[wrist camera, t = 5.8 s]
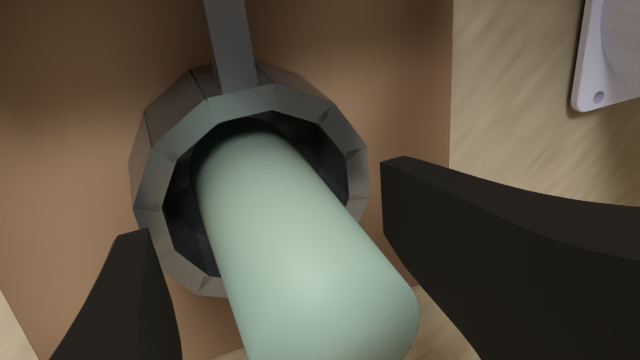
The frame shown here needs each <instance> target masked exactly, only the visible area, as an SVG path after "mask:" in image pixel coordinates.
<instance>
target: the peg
mask: <svg viewBox="0 0 640 360" xmlns="http://www.w3.org/2000/svg"><path fill="white" fill-rule="evenodd" d="M188 174H189V181H190V184H191V187H192V190H193V193H194V196H195V199H196V202H197V205H198V209H199V212H200V215H201V218H202V221H203V224H204V227H205V230H206V233H207V236H208V239H209V242H210V245H211V248H212V251H213V254H214V257H215V260H216V263H217V266H218V269H219V272H220V275H221V278H222V281H223V284H224V287H225V290H226V293H227V296H228V299H229V302H230V305H231V308H232V311H233V314H234V317H235V320H236V323H237V326H238V329H239V332H240V335H241V338H242V341H243V344H244V347H245V350H246V353H247V356H248V359H249V360H402V359H403V358H404V356H405V355H406V353H407V352H408V350H409V348H410V346H411V344H412V342H413V340H414V338H415V335H416V332H417V329H418V324H419V305H418V301H417V298H416V296H415V294H414V292H413V290H412V289H411V287H410V286H409V285H408V284H407V282H406V281H405V280H404V279H403V277H402V276H401V275H400V274H399V273H398V271H397V270H396V269H395V268H394V267H393V265H392V264H391V263H390V262H389V260H388V259H387V258H386V257H385V256H384V254H383V253H382V252H381V251H380V250H379V248H378V247H377V246H376V245H375V243H374V242H373V241H372V240H371V239H370V237H369V236H368V235H367V234H366V233H365V231H364V230H363V229H362V228H361V226H360V225H359V224H358V223H357V222H356V220H355V219H354V218H353V217H352V215H351V214H350V213H349V212H348V211H347V209H346V208H345V207H344V206H343V205H342V203H341V202H340V201H339V200H338V198H337V197H336V196H335V195H334V194H333V192H332V191H331V190H330V189H329V188H328V186H327V185H326V184H325V183H324V181H323V180H322V179H321V178H320V177H319V175H318V174H317V173H316V172H315V171H314V169H313V168H312V167H311V166H310V164H309V163H308V162H307V161H306V160H305V158H304V157H303V156H302V155H301V153H300V152H299V151H298V150H297V149H296V147H295V146H294V145H293V144H292V143H291V141H290V140H289V139H288V138H287V136H286V135H285V134H284V133H283V132H282V131H281V130H280V129H279V128H278V127H276V126H275V125H274V124H272V123H270V122H268V121H265V120H263V119H259V118H254V117H240V118H236V119H231V120H227V121H224V122H222V123H220V124H218V125H216V126H215V127H213V128H212V129H211V130H210V131H208V132H207V133H206V134H205V135H204V136H203V137H202V138H201V139H200V140H199V141H198V143H197V144H196V146H195V148H194V149H193V152H192V154H191V157H190V161H189V168H188Z"/></svg>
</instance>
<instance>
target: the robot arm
mask: <svg viewBox="0 0 640 360" xmlns="http://www.w3.org/2000/svg"><path fill="white" fill-rule="evenodd" d="M594 96H595V97H594ZM637 97H640V0H586V2H585V8H584V15H583V22H582V28H581V35H580V42H579V48H578V55H577V62H576V69H575V75H574V82H573V89H572V95H571V106H572V108H573V109H575V110H577V111H579V112H588V111H591V110H595V109H598V108H602V107H605V106H609V105H612V104H616V103H620V102H623V101H627V100H630V99H634V98H637ZM380 180H381V200H382V219H383V234H384V235H385V237H386V239H387V240H388V242H389V244H390V245H391V247H392V248H393V250H394V252H395V253H396V255H397V256H398V258H399V259H400V261H401V262H402V264H403V265H404V266H405V268H406V269H407V270H408V271H409V273H410V274H411V275H412V276H413V277H414V278H415V280H416V281H417V282H418V283H419V284H420V285H421V287H422V288H423V289H424V290H425V291H426V292H427V294H428V295H429V296H430V297H431V298H432V299H433V301H434V302H435V303H436V304H437V305H438V306H439V307H440V309H441V310H442V311H443V312H444V313H445V314H446V316H447V317H448V318H449V319H450V320H451V321H452V322H453V324H454V325H455V326H456V327H457V328H458V329H459V331H460V332H461V333H462V334H463V336H464V337H465V338H466V339H467V341H468V342H469V343H470V344H471V346H472V347H473V348H474V350H475V351H476V353H477V354H478V356H479V357H480V358H481V360H640V207H633V206H623V205H613V204H604V203H595V202H588V201H581V200H574V199H569V198H563V197H557V196H552V195H546V194H541V193H537V192H532V191H527V190H523V189H519V188H515V187H512V186H508V185H504V184H500V183H496V182H493V181H489V180H485V179H482V178H479V177H475V176H472V175H469V174H465V173H462V172H459V171H456V170H453V169H449V168H446V167H443V166H440V165H437V164H433V163H430V162H427V161H423V160H420V159H416V158H412V157H407V156H400V157H396V158H392V159H389V160H385V161H382V162H380ZM49 360H183V357H182V347H181V339H180V334H179V330H178V325H177V320H176V316H175V311H174V307H173V302H172V299H171V296H170V293H169V290H168V287H167V284H166V281H165V278H164V275H163V271H162V268H161V265H160V262H159V259H158V256H157V253H156V250H155V247H154V244H153V241H152V238H151V235H150V232H149V229H148V227H146V228H142V229H139V230H135V231H132V232H128V233H124V234H121V235H118V236H117V237H116V239H115V240H114V242H113V244H112V246H111V249H110V251H109V253H108V256H107V258H106V260H105V262H104V265H103V267H102V269H101V271H100V273H99V275H98V277H97V279H96V281H95V283H94V285H93V287H92V289H91V291H90V293H89V295H88V296H87V298H86V300H85V302H84V304H83V306H82V308H81V309H80V311H79V313H78V314H77V316H76V318H75V319H74V321H73V323H72V324H71V326H70V328H69V329H68V331H67V333H66V334H65V336H64V338H63V339H62V341H61V342H60V344H59V345H58V347H57V348H56V350H55V351H54V353H53V354H52V355H51V357H50V358H49Z"/></svg>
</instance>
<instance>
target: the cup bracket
mask: <svg viewBox="0 0 640 360" xmlns="http://www.w3.org/2000/svg"><path fill="white" fill-rule="evenodd" d="M452 25H453V0H0V290H1V291H2V293H3V295H4V297H5V299H6V300H7V302H8V304H9V306H10V308H11V310H12V311H13V313H14V315H15V317H16V319H17V321H18V322H19V324H20V326H21V328H22V330H23V332H24V333H25V335H26V337H27V339H28V341H29V342H30V344H31V346H32V348H33V350H34V352H35V353H36V355H37V357H38V359H39V360H49V358H50V357H51V355H52V354H53V353H54V351H55V350H56V348H57V347H58V345H59V344H60V342H61V341H62V339H63V338H64V336H65V334H66V333H67V331H68V329H69V328H70V326H71V324H72V323H73V321H74V319H75V318H76V316H77V314H78V313H79V311H80V309H81V308H82V306H83V304H84V302H85V300H86V298H87V296H88V295H89V293H90V291H91V289H92V287H93V285H94V283H95V281H96V279H97V277H98V275H99V273H100V271H101V269H102V267H103V265H104V262H105V260H106V258H107V256H108V253H109V251H110V249H111V246H112V244H113V242H114V240H115V239H116V237H117V236H118V235H121V234H124V233H128V232H132V231H135V230H139V229H142V228H146V227H148V229H149V232H150V235H151V238H152V241H153V244H154V247H155V250H156V253H157V256H158V259H159V262H160V265H161V268H162V271H163V275H164V278H165V281H166V284H167V287H168V290H169V293H170V296H171V299H172V302H173V307H174V311H175V316H176V320H177V325H178V330H179V334H180V339H181V347H182V357H183V360H207V359H210V358H213V357H216V356H218V355H221V354H224V353H227V352H230V351H232V350H235V349H238V348H241V347H244V344H243V341H242V338H241V335H240V332H239V329H238V326H237V323H236V320H235V317H234V314H233V311H232V308H231V305H230V302H229V299H228V296H227V293H226V290H225V287H224V284H223V281H222V278H221V275H220V272H219V269H218V266H217V263H216V260H215V257H214V254H213V251H212V248H211V245H210V242H209V239H208V236H207V233H206V230H205V227H204V224H203V221H202V218H201V215H200V212H199V209H198V205H197V202H196V199H195V196H194V193H193V190H192V187H191V184H190V181H189V174H188V168H189V161H190V157H191V154H192V152H193V149H194V148H195V146H196V144H197V143H198V141H199V140H200V139H201V138H202V137H203V136H204V135H205V134H206V133H207V132H208V131H210V130H211V129H212V128H213V127H215V126H216V125H218V124H220V123H222V122H224V121H227V120H231V119H236V118H240V117H254V118H259V119H263V120H265V121H268V122H270V123H272V124H274V125H275V126H276V127H278V128H279V129H280V130H281V131H282V132H283V133H284V134H285V135H286V136H287V138H288V139H289V140H290V141H291V143H292V144H293V145H294V146H295V147H296V149H297V150H298V151H299V152H300V153H301V155H302V156H303V157H304V158H305V160H306V161H307V162H308V163H309V164H310V166H311V167H312V168H313V169H314V171H315V172H316V173H317V174H318V175H319V177H320V178H321V179H322V180H323V181H324V183H325V184H326V185H327V186H328V188H329V189H330V190H331V191H332V192H333V194H334V195H335V196H336V197H337V198H338V200H339V201H340V202H341V203H342V205H343V206H344V207H345V208H346V209H347V211H348V212H349V213H350V214H351V215H352V217H353V218H354V219H355V220H356V222H357V223H358V224H359V225H360V226H361V228H362V229H363V230H364V231H365V233H366V234H367V235H368V236H369V237H370V239H371V240H372V241H373V242H374V243H375V245H376V246H377V247H378V248H379V250H380V251H381V252H382V253H383V254H384V256H385V257H386V258H387V259H388V260H389V262H390V263H391V264H392V265H393V267H394V268H395V269H396V270H397V271H398V273H399V274H400V275H401V276H402V277H403V279H404V280H405V281H406V282H407V284H408V285H409V286H410V287H412V286H415V285H417V284H419V283H418V282H417V281H416V280H415V278H414V277H413V276H412V275H411V274H410V273H409V271H408V270H407V269H406V268H405V266H404V265H403V264H402V262H401V261H400V259H399V258H398V256H397V255H396V253H395V252H394V250H393V248H392V247H391V245H390V244H389V242H388V240H387V239H386V237H385V235H384V234H383V219H382V200H381V180H380V162H382V161H385V160H389V159H392V158H396V157H400V156H407V157H412V158H416V159H420V160H423V161H427V162H430V163H433V164H437V165H440V166H443V167H446V168H449V143H450V104H451V64H452Z"/></svg>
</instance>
